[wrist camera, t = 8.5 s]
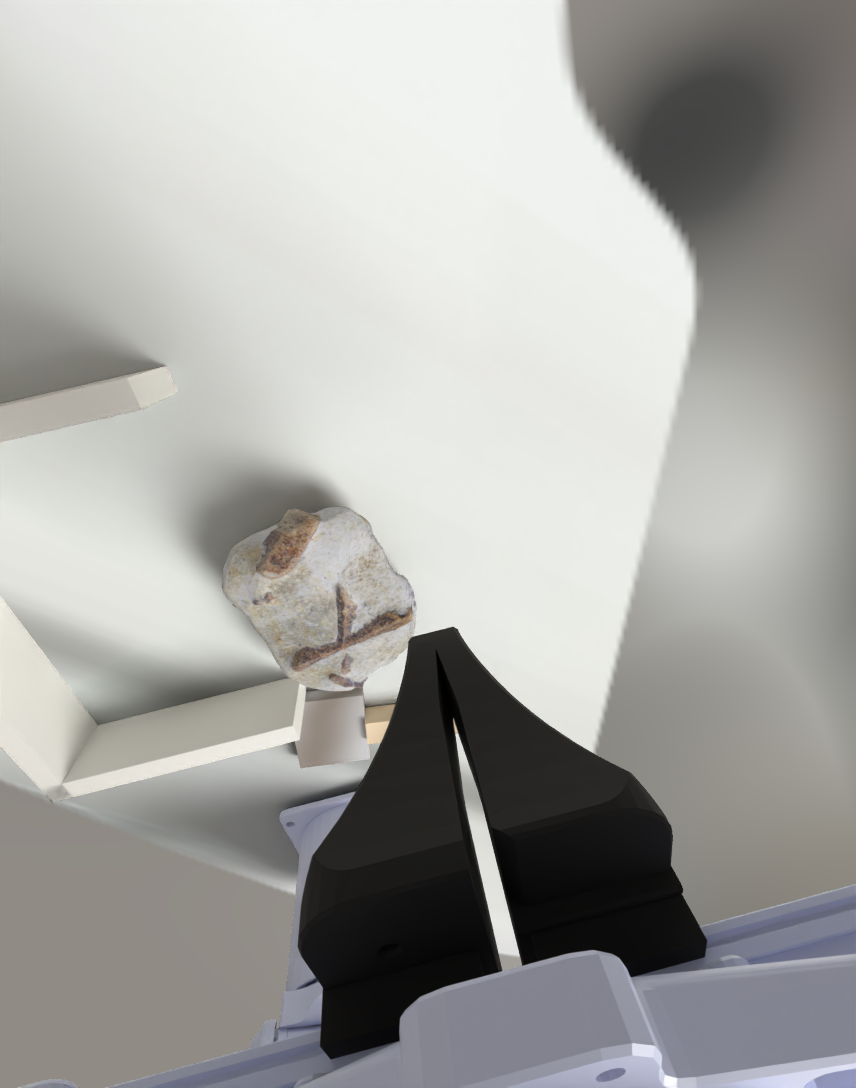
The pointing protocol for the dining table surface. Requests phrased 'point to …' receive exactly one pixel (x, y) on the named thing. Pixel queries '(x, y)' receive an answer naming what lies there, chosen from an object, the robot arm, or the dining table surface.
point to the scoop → (340, 727)
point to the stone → (322, 597)
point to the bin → (51, 706)
